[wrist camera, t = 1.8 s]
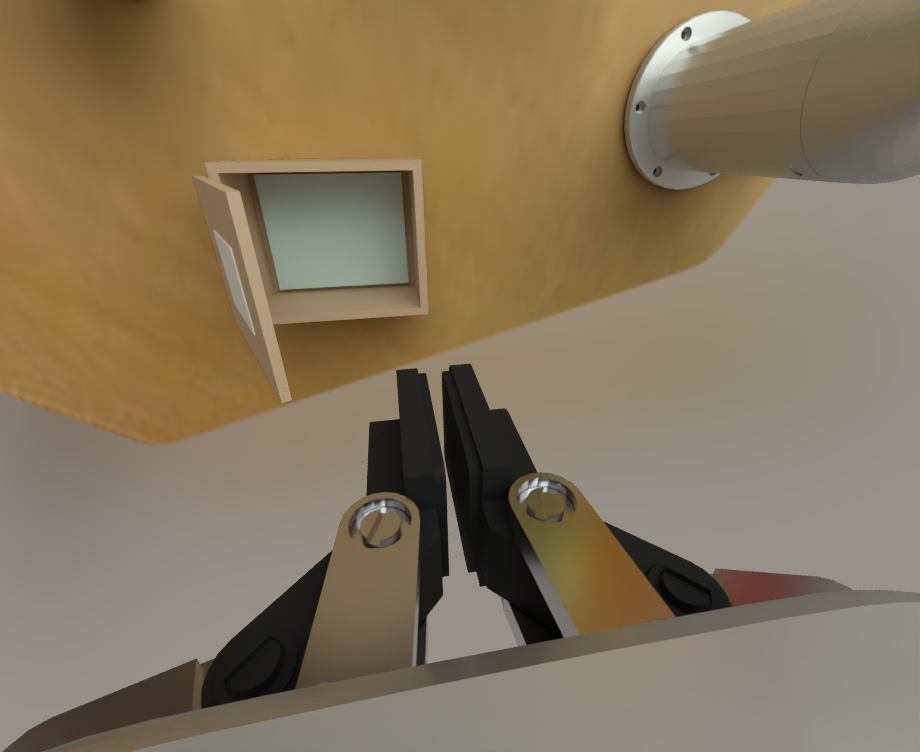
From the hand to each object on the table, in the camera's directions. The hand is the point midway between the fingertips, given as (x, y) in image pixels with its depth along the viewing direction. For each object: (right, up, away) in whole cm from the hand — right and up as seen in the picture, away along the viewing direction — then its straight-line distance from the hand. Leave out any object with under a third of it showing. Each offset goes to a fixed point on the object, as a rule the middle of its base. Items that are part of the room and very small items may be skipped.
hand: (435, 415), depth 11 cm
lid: (-12, +7, +12) cm, 18 cm away
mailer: (-10, +14, +24) cm, 30 cm away
